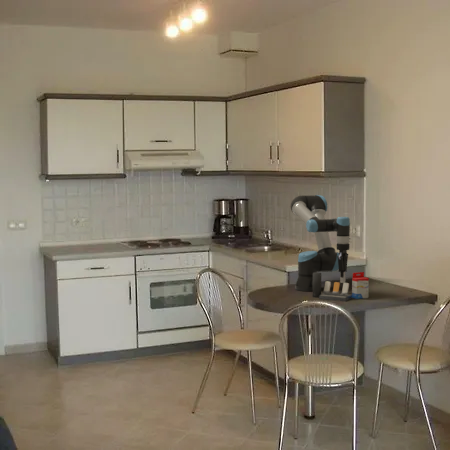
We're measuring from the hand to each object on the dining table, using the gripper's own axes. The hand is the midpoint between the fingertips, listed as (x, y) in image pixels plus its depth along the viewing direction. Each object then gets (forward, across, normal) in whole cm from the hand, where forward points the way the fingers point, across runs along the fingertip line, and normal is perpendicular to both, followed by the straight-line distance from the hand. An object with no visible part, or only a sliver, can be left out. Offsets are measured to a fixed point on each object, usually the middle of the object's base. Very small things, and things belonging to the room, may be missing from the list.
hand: (342, 282), depth 422 cm
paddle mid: (+4, -12, 0) cm, 13 cm away
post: (+7, -12, +12) cm, 18 cm away
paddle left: (+4, -12, +6) cm, 14 cm away
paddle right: (+4, -12, -6) cm, 14 cm away
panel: (+7, -12, 0) cm, 14 cm away
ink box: (+8, -4, -12) cm, 15 cm away
